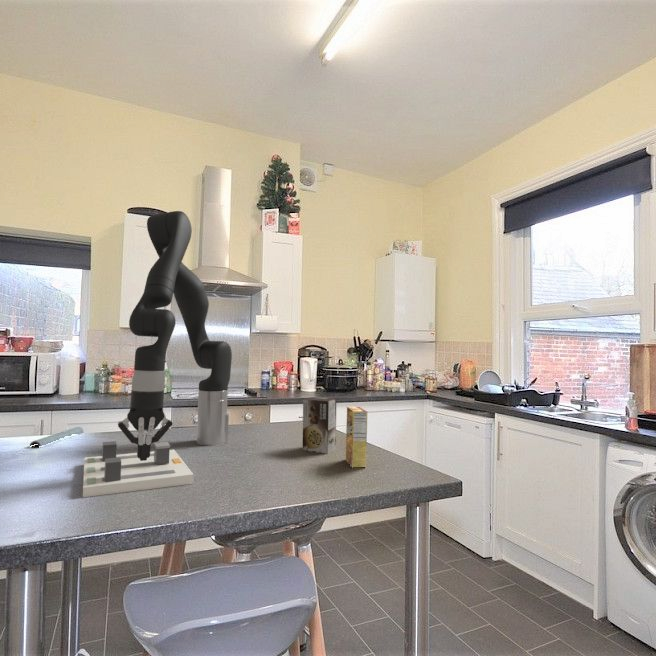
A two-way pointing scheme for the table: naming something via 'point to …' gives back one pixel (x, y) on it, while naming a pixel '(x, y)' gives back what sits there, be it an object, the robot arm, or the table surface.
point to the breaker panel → (131, 472)
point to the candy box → (356, 436)
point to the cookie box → (319, 424)
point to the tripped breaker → (161, 452)
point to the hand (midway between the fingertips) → (143, 459)
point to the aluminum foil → (57, 436)
